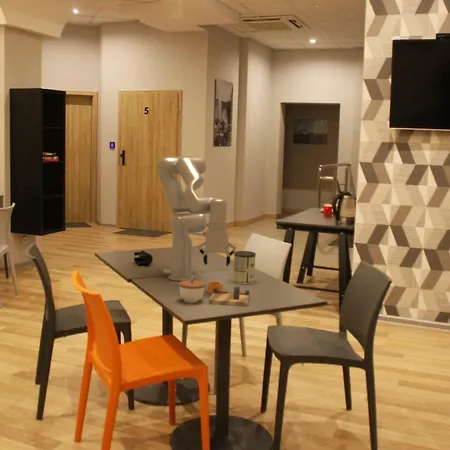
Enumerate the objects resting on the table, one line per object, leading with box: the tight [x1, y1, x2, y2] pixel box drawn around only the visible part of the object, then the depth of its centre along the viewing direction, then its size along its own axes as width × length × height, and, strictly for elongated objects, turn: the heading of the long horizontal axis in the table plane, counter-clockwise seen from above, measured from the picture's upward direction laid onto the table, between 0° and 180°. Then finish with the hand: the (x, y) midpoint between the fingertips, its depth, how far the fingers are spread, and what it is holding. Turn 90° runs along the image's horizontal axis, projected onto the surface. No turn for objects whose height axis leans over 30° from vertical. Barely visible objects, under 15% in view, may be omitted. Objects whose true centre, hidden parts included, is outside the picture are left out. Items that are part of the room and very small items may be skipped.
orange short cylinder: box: [207, 281, 224, 295], centre depth 285 cm, size 6×6×4 cm
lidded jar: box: [178, 279, 206, 304], centre depth 269 cm, size 11×11×9 cm
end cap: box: [133, 249, 154, 267], centre depth 335 cm, size 10×7×7 cm
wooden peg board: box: [208, 286, 251, 307], centre depth 272 cm, size 16×14×6 cm
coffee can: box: [233, 250, 256, 285], centre depth 306 cm, size 10×10×14 cm
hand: (216, 264), depth 283 cm, fingers open, 9 cm apart
